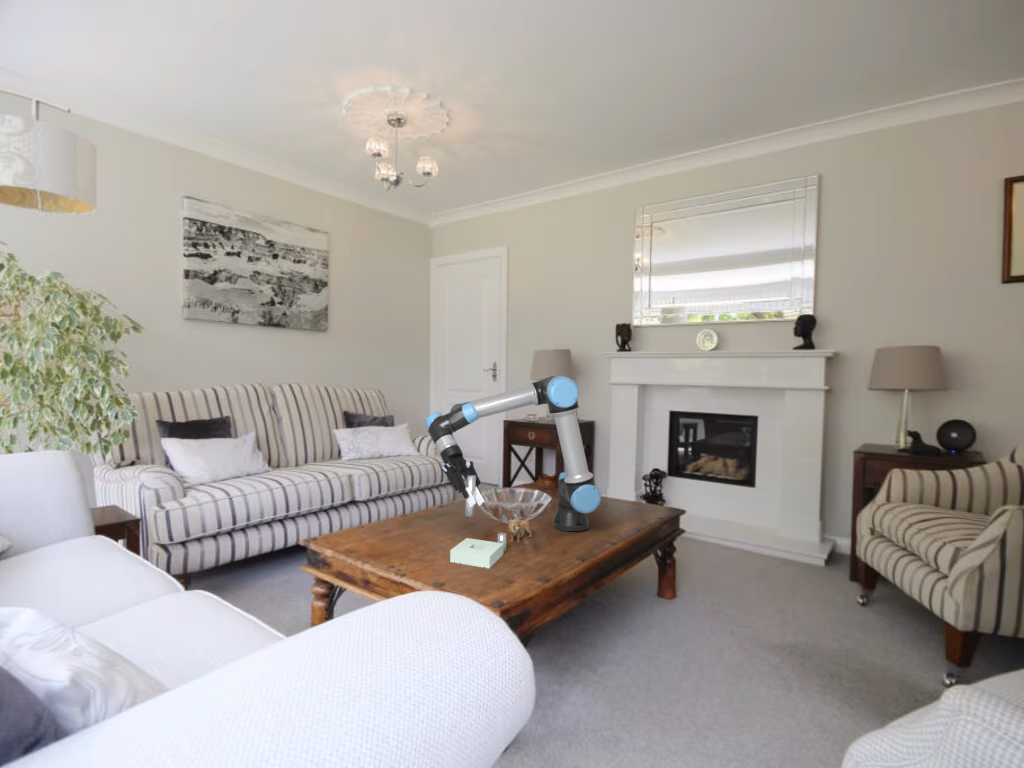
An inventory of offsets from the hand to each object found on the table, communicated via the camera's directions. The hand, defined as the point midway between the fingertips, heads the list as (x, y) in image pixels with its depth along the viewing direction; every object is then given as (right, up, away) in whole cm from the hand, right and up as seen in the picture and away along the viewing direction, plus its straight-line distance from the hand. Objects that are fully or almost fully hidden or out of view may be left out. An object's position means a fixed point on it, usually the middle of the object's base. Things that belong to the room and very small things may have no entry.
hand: (477, 504), depth 184 cm
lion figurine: (+15, -18, +20) cm, 31 cm away
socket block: (0, -18, -2) cm, 18 cm away
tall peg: (-3, -4, +3) cm, 6 cm away
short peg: (+8, -18, +7) cm, 21 cm away
